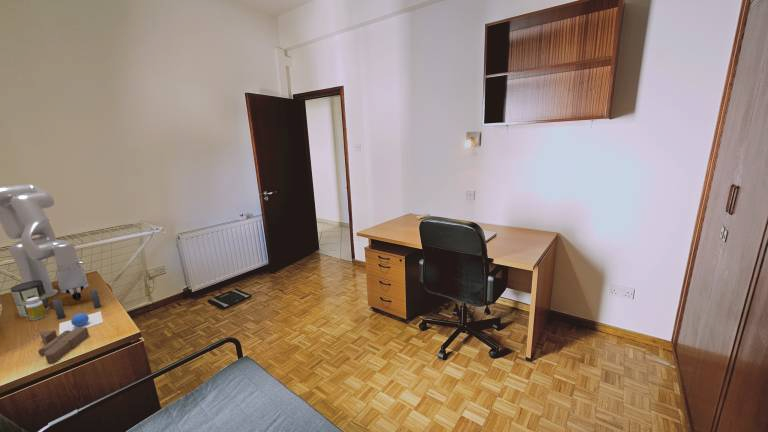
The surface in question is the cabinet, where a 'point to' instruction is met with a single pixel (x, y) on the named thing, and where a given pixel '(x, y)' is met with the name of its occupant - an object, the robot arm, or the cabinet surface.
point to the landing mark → (93, 320)
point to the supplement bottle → (35, 308)
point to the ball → (80, 319)
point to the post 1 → (58, 308)
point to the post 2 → (95, 298)
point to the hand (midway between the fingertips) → (77, 299)
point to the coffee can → (29, 295)
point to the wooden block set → (61, 342)
